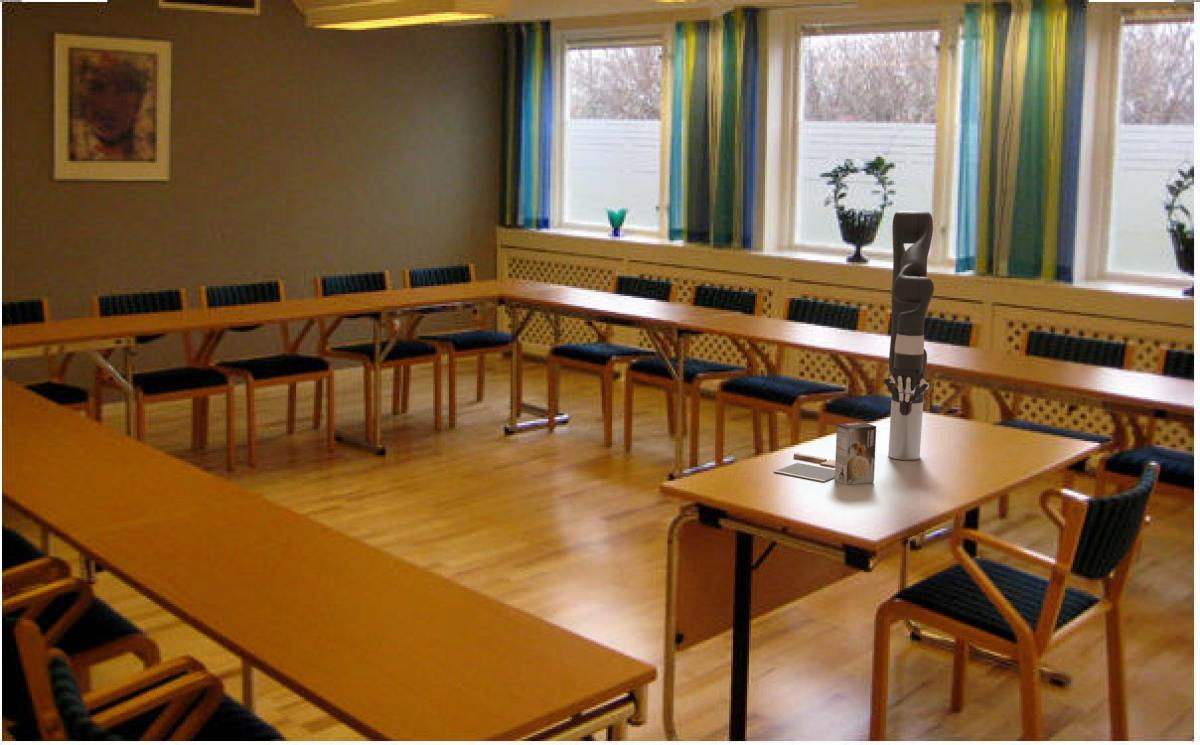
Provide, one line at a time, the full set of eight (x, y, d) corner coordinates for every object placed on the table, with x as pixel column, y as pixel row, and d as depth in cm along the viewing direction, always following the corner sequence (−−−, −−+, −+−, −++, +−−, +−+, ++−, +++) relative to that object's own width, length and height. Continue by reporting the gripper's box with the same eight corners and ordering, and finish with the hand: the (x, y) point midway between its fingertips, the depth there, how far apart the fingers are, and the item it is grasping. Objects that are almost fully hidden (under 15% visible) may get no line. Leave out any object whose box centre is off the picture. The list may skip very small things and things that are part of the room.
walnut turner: (789, 459, 399) (790, 455, 399) (800, 455, 404) (800, 451, 403) (844, 470, 388) (845, 466, 388) (854, 466, 393) (854, 462, 393)
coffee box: (861, 477, 380) (864, 421, 377) (874, 482, 374) (877, 426, 372) (833, 479, 377) (836, 423, 374) (845, 485, 371) (849, 428, 368)
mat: (798, 463, 394) (798, 462, 394) (847, 473, 384) (847, 471, 384) (773, 472, 383) (773, 471, 383) (824, 482, 373) (824, 481, 373)
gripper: (938, 352, 360) (934, 416, 363) (892, 346, 367) (888, 409, 370) (926, 355, 354) (922, 420, 357) (880, 349, 362) (876, 413, 365)
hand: (905, 414), depth 364 cm, fingers closed
